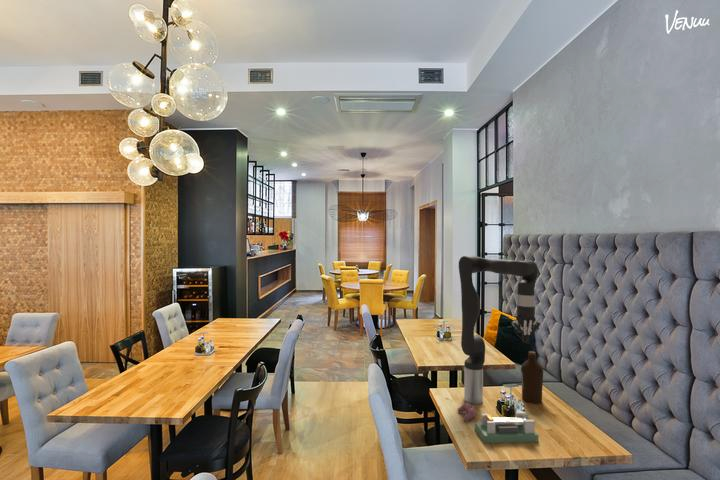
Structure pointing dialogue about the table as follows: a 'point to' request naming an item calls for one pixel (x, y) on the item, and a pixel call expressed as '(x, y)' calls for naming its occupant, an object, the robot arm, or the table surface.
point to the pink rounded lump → (467, 411)
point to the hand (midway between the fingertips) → (525, 342)
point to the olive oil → (532, 379)
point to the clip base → (505, 436)
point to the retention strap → (506, 420)
